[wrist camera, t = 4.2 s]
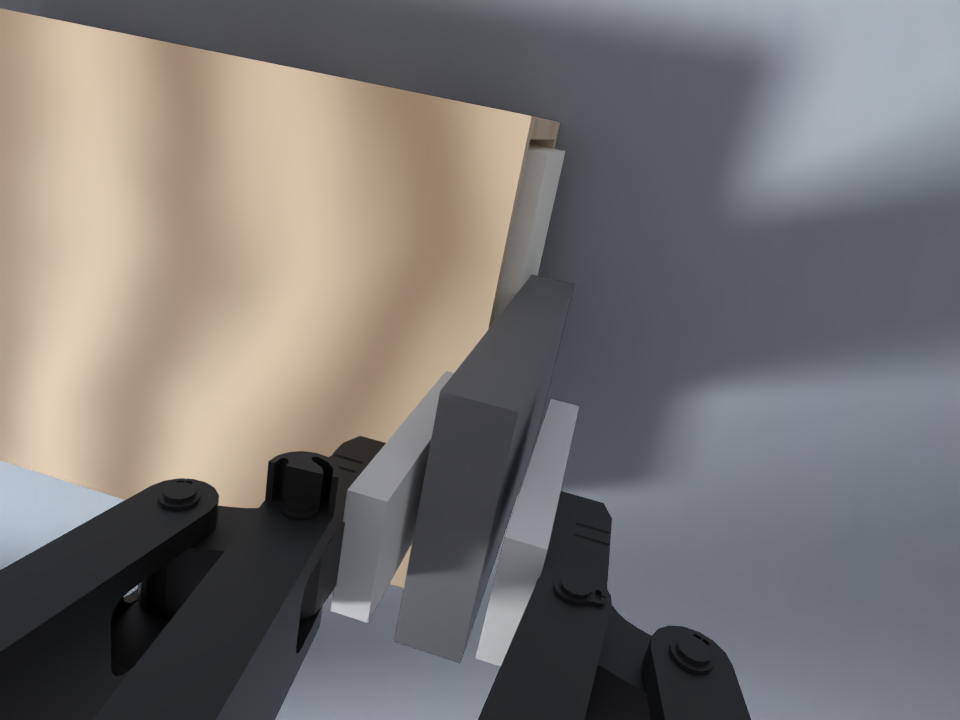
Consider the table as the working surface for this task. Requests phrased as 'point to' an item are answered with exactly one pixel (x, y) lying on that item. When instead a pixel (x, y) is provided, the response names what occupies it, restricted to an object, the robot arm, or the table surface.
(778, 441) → the table surface
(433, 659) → the table surface
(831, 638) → the table surface
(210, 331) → the sleeve
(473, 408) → the tray
